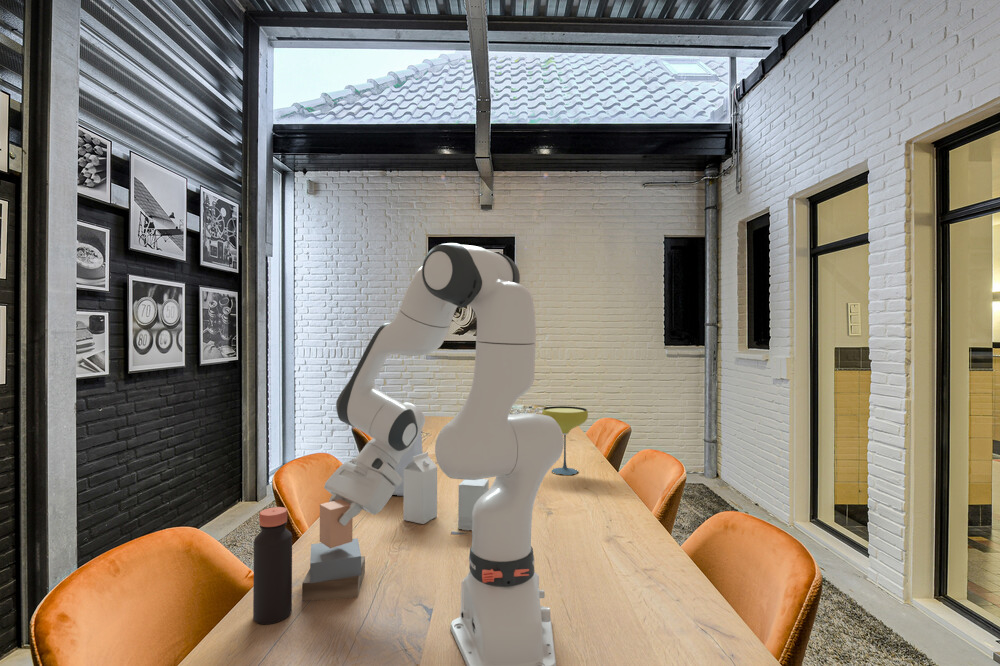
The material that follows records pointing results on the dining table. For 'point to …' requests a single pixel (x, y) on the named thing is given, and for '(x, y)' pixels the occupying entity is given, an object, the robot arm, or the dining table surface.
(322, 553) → the tower top block
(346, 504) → the terracotta block
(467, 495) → the supplement box
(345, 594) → the tower base block
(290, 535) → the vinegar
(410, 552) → the dining table surface
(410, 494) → the milk carton
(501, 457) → the robot arm
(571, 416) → the cocktail glass
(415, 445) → the plastic bottle
